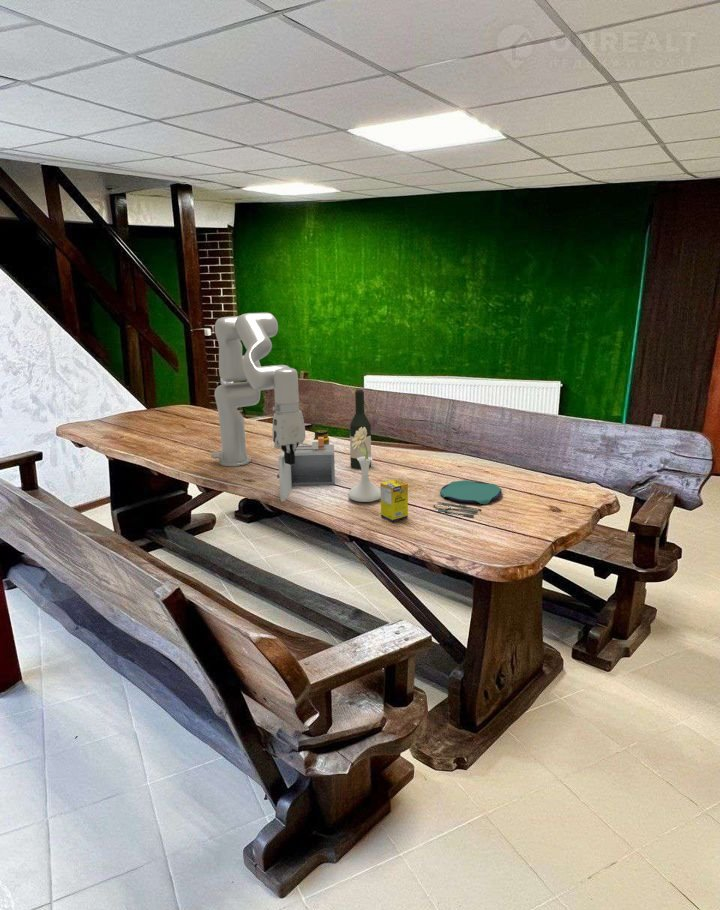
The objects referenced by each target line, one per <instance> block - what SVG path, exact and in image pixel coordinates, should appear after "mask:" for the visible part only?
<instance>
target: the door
mask: <svg viewBox="0 0 720 910" xmlns="http://www.w3.org/2000/svg"><path fill="white" fill-rule="evenodd" d="M277 461H278V474H277V475H276V478H277V479H279V492H280V493H279V495H280V502H285V501H286V499H287V498H288V495H289V494H290V492H291V490H292V488H293V486H292V467H291V465H289V464H286V463H285V459H284V452H283V451H282V453H281V454H280V456H279V457H278V460H277Z"/></svg>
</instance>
